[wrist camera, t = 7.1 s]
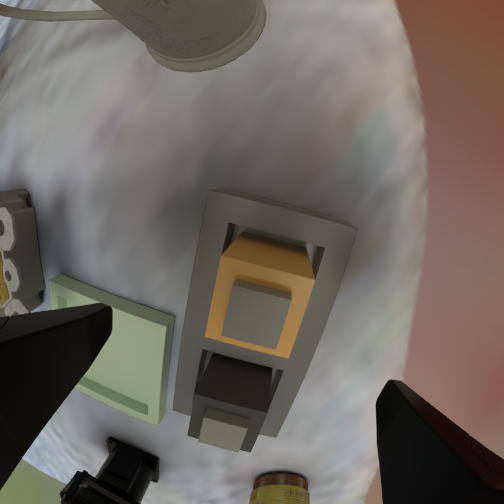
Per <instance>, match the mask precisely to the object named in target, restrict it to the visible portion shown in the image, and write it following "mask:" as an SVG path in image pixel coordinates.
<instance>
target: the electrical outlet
mask: <svg viewBox="0 0 504 504" xmlns="http://www.w3.org/2000/svg"><path fill="white" fill-rule="evenodd" d="M27 195H28V192H27V191H26V190H25V189H23V190H14V191H6V192H0V317H3V316H11V315H19V314H26V313H31V311H32V310H34V309H35V308H37V307H38V306H40V305H41V304H42V303H43V301H42V300H41V298H40V297H39V292H40V291H42V290H43V289H45V285H44V280H43V274H42V268H41V262H40V256H39V249H38V241H37V232H36V222H35V210H34V208H33V207H28V206H27V202H26V198H27Z"/></svg>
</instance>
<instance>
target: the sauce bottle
mask: <svg viewBox="0 0 504 504" xmlns="http://www.w3.org/2000/svg"><path fill="white" fill-rule="evenodd" d="M249 504H309V492H308V483H307V481H306V480H305V479H304V478H302V477H299V476H298V475H294V474H287V473H276V474H268V475H264V476H262V477H260V478H258V479H257V480H256V482H255V483H254V487H253V491H252V492H251V496H250V503H249Z"/></svg>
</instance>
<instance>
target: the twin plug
mask: <svg viewBox="0 0 504 504" xmlns="http://www.w3.org/2000/svg"><path fill="white" fill-rule="evenodd" d="M272 370H273V368H272V367H267V366H263V365H259V364H255V363H251V362H247V361H244V360H240V359H236V358H232V357H229V356H225V355H222V354H218V353H215V352H213V353H212V356H211V358H210V360H209V363H208V365H207V367H206V369H205V372H204V374H203V376H202V379H201V381H200V383H199V385H198V388H197V390H196V392H195V396H194V401H193V407H192V413H191V419H190V424H189V430H188V436H191V437H194V438H197V439H199V441H198V442H202V443H205V444H209V445H212V446H216V447H220V448H224V449H227V450H232V451H236V452H239V450H242V451H247V452H251V450H252V448H253V446H254V444H255V441H256V439H257V437H258V435H259V432H260V430H261V428H262V425H263V423H264V421H265V418H266V416H267V414H268V407H269V398H270V389H271V379H272Z"/></svg>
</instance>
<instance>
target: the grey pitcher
mask: <svg viewBox="0 0 504 504" xmlns="http://www.w3.org/2000/svg"><path fill="white" fill-rule="evenodd" d="M92 1H93V2H94V3H96V4H97V5H98V6H100V7H101V8H102V9H104V10H95V11H67V12H50V11H36V10H26V9H20V8H15V7H10V6H6V5H3V4H0V15H1V16H5V17H11V18H17V19H24V20H35V21H49V22H53V21H72V20H101V19H114V20H118V21H119V22H120V23H122V24H123V25H124V26H125V27H127V28H128V29H129V30H130V31H132V32H133V33H134V34H135V35H136V36H138V37H139V38H140V39H141V40H142V41H144V42H145V43H146V46H147V49H148V51H149V53H150V54H151V56H152V57H153V58H154V59H155V60H156V61H157V62H158V63H160V64H161V65H163V66H165V67H167V68H169V69H172V70H176V71H182V72H199V71H205V70H210V69H214V68H217V67H220V66H223V65H225V64H227V63H229V62H231V61H233V60H235V59H236V58H238V57H239V56H241V55H242V54H244V53H245V52H246V51H247V50H248V49H249V48H251V47H252V46H253V44H254V43H255V42H256V41H257V39H258V38H259V36H260V34H261V33H262V31H263V28H264V25H265V20H266V12H265V6H264V4H263V2H262V0H92Z"/></svg>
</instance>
